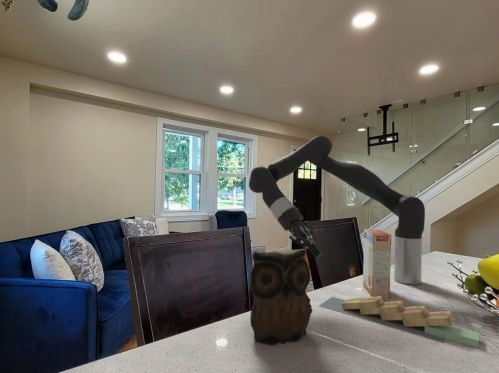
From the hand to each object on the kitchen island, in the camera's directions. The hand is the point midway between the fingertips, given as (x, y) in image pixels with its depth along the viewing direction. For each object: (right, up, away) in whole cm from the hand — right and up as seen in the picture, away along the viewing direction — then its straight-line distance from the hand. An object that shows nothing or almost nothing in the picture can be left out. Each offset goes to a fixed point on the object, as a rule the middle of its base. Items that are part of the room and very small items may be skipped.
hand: (319, 255), depth 86 cm
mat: (+13, -14, -10) cm, 22 cm away
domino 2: (+10, -13, -8) cm, 18 cm away
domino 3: (+15, -13, -11) cm, 22 cm away
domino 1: (+6, -13, -5) cm, 15 cm away
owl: (-15, -13, -20) cm, 28 cm away
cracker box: (+22, -15, +10) cm, 28 cm away
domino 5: (+22, -13, -17) cm, 31 cm away
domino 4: (+19, -13, -14) cm, 27 cm away
